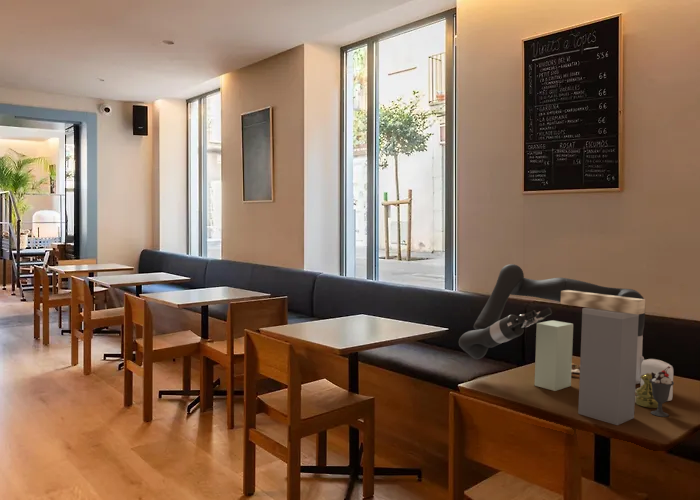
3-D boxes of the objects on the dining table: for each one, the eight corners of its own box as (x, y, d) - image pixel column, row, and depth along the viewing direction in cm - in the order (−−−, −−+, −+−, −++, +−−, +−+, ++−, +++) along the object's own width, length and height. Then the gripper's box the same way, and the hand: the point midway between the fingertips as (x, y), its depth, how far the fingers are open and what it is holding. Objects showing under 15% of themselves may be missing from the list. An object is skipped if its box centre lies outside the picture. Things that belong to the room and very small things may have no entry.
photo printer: (637, 393, 197) (639, 357, 196) (646, 391, 199) (648, 355, 198) (665, 402, 188) (667, 364, 187) (674, 400, 190) (676, 363, 189)
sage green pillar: (534, 385, 204) (536, 323, 203) (550, 380, 211) (552, 320, 209) (555, 391, 198) (557, 326, 197) (570, 385, 204) (573, 323, 203)
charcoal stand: (578, 413, 176) (582, 308, 174) (595, 407, 182) (599, 305, 180) (617, 425, 166) (622, 314, 164) (633, 418, 173) (638, 310, 171)
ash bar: (560, 303, 182) (560, 290, 182) (567, 302, 185) (567, 290, 185) (638, 314, 164) (638, 300, 164) (644, 313, 166) (645, 299, 166)
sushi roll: (594, 371, 226) (595, 360, 226) (597, 381, 212) (597, 370, 212) (554, 367, 231) (554, 357, 231) (554, 377, 217) (554, 366, 217)
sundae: (675, 418, 172) (678, 368, 172) (651, 416, 174) (653, 367, 173) (668, 411, 179) (670, 363, 178) (644, 409, 180) (646, 361, 179)
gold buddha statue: (660, 410, 180) (661, 378, 180) (633, 405, 184) (634, 374, 184) (661, 403, 186) (663, 372, 186) (636, 399, 190) (637, 369, 190)
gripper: (489, 321, 198) (525, 302, 186) (514, 317, 207) (550, 299, 195) (497, 342, 195) (535, 324, 184) (523, 337, 204) (560, 320, 193)
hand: (543, 311), depth 190 cm, fingers open, 8 cm apart
